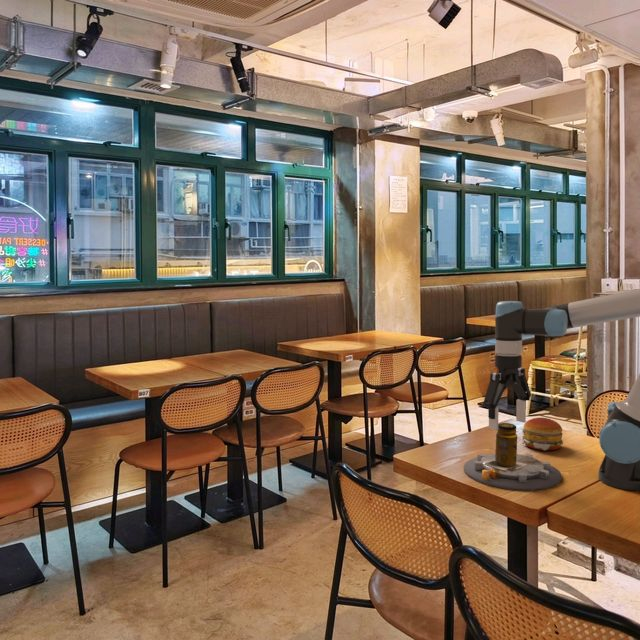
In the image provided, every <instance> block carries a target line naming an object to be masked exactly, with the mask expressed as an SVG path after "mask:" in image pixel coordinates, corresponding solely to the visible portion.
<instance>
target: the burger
mask: <svg viewBox="0 0 640 640" xmlns="http://www.w3.org/2000/svg"><path fill="white" fill-rule="evenodd" d="M521 432H522V433H523V436H522V438H521V439H522V441H521V443H522V444H525V446H527V447H528V448H531V449H533V450H540V451H554V450H558V449H559V448H561V446H562V445H563V444H564V440H563V439H562V438H563V428H562V426H561V425H560V423H559V422H557V421H556V420H554V419H552V418H547V417H535V418H531V419H528V420H527V421H526V422H524V425H523V429H522V431H521Z"/></svg>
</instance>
